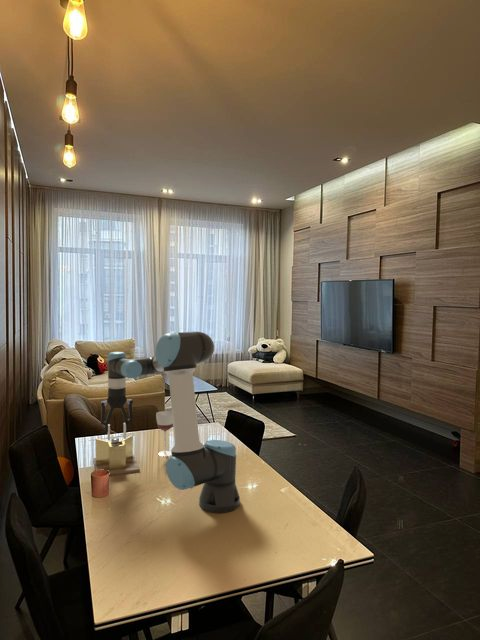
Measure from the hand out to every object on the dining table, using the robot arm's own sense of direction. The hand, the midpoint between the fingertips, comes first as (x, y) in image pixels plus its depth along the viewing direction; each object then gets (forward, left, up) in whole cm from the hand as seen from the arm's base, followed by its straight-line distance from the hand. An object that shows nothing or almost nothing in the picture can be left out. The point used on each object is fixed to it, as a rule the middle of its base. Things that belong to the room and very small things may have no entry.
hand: (116, 438), depth 196 cm
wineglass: (+11, -24, -14) cm, 30 cm away
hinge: (+3, 0, -12) cm, 13 cm away
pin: (0, 0, -12) cm, 12 cm away
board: (+3, 0, -13) cm, 14 cm away
